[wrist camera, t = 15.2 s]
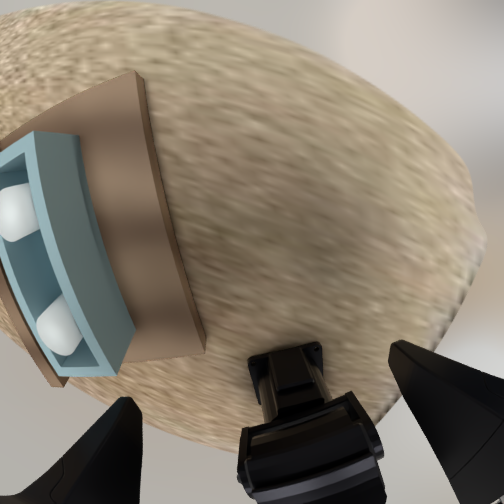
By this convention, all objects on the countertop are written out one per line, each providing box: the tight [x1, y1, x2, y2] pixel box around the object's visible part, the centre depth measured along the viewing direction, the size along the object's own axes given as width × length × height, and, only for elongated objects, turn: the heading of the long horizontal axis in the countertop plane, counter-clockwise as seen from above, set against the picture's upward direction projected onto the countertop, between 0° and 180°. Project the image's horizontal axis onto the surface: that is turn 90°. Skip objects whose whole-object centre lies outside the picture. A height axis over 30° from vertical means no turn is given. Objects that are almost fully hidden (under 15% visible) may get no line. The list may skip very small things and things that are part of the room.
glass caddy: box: [0, 131, 136, 377], centre depth 13 cm, size 14×5×6 cm, turn 10°
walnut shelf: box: [0, 71, 206, 387], centre depth 15 cm, size 20×14×5 cm
